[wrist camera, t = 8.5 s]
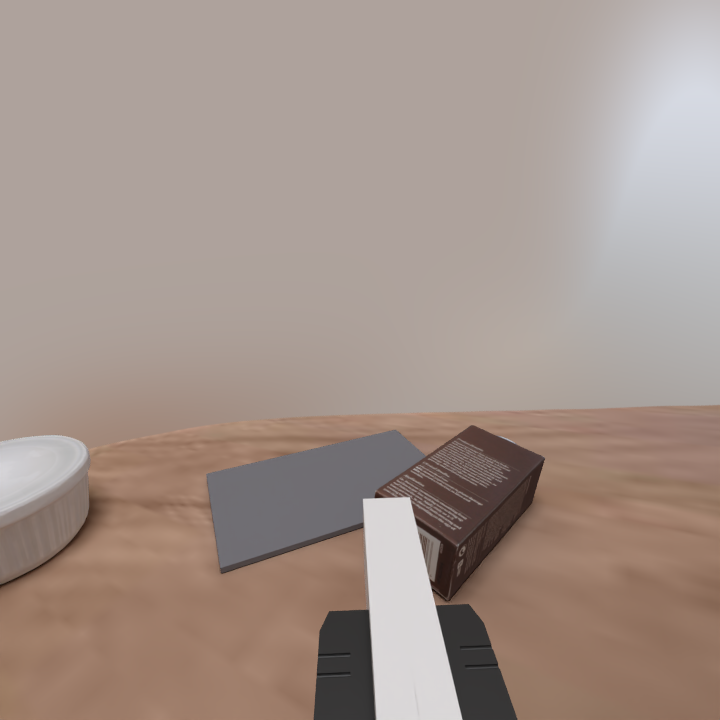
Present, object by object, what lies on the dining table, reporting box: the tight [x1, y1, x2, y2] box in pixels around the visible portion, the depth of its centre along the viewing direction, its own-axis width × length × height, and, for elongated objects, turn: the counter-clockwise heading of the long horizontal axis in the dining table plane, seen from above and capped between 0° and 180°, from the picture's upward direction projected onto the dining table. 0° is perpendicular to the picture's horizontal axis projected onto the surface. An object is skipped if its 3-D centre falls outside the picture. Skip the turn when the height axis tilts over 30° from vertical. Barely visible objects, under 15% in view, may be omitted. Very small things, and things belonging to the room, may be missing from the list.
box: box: [375, 425, 545, 600], centre depth 27 cm, size 6×4×12 cm
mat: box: [206, 430, 426, 573], centre depth 33 cm, size 18×11×1 cm, turn 114°
